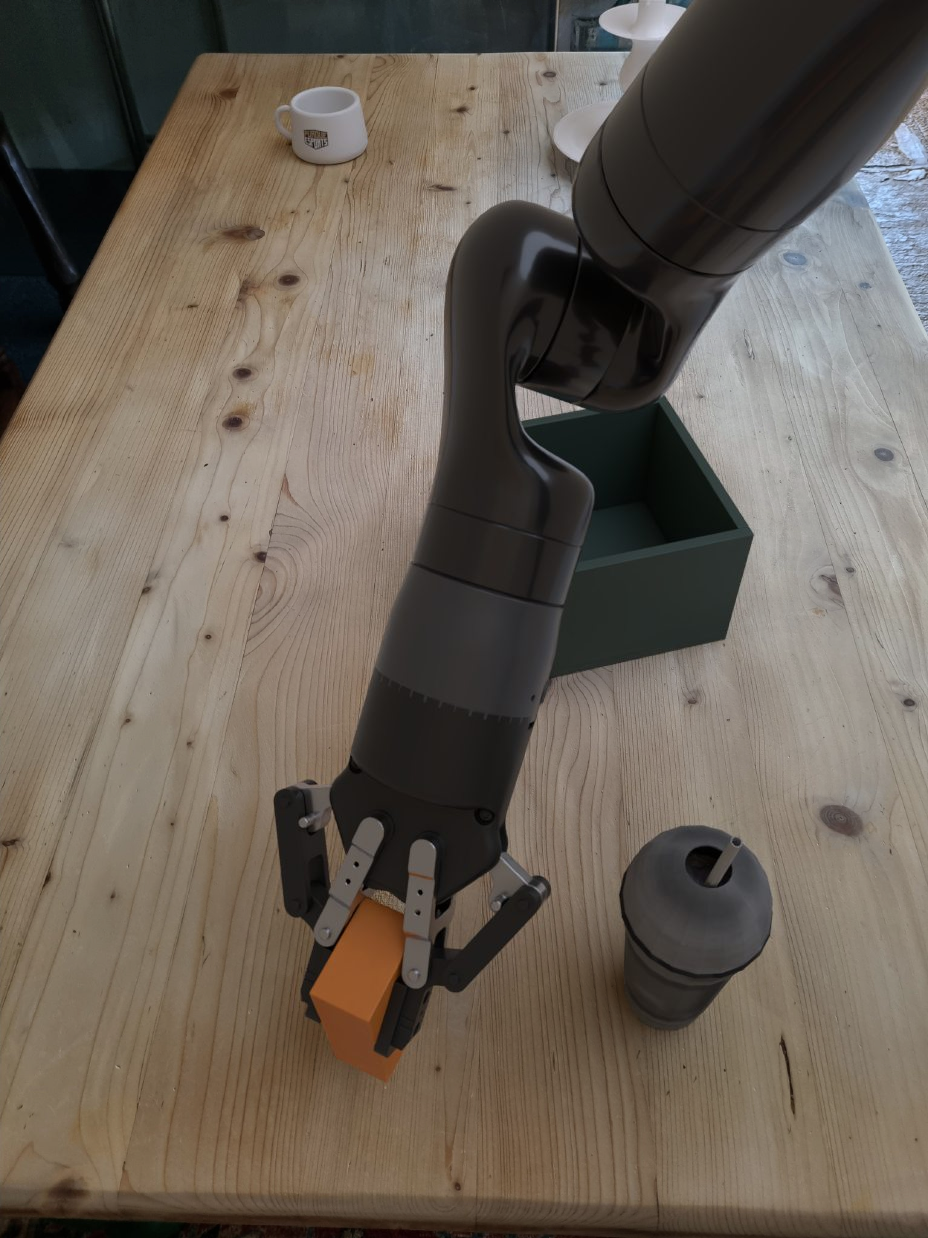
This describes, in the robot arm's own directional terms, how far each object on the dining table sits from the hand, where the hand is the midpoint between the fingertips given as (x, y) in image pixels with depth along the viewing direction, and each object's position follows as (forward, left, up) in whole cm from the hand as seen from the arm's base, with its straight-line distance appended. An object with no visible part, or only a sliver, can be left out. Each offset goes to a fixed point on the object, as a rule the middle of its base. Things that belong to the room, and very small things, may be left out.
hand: (354, 1029), depth 46 cm
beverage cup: (+1, -17, -10) cm, 20 cm away
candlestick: (+96, -51, -10) cm, 109 cm away
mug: (+113, -15, -10) cm, 114 cm away
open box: (+32, -23, -10) cm, 40 cm away
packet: (+2, -1, -5) cm, 5 cm away
